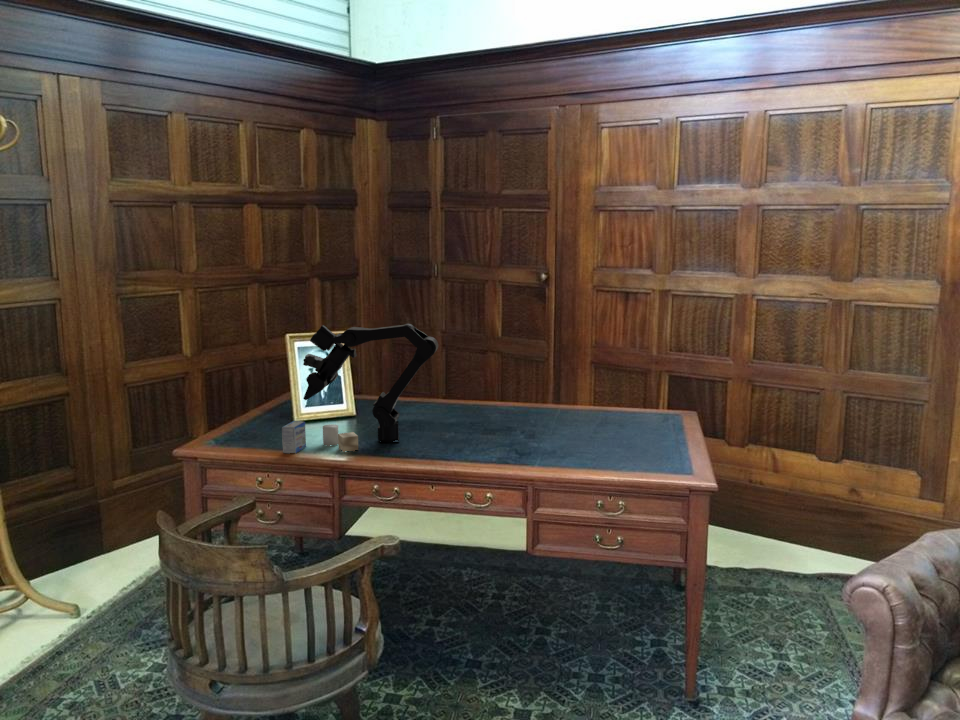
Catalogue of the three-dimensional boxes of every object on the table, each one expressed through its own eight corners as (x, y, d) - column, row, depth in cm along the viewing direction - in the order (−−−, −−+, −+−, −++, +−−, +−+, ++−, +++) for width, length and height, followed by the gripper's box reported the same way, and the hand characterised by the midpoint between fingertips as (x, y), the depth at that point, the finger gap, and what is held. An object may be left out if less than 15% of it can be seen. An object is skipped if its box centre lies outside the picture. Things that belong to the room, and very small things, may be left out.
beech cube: (353, 446, 258) (353, 432, 257) (358, 450, 253) (358, 435, 253) (338, 448, 256) (338, 433, 255) (343, 452, 251) (342, 437, 250)
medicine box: (295, 454, 249) (294, 427, 248) (282, 453, 250) (281, 426, 249) (306, 447, 257) (305, 421, 255) (293, 446, 258) (292, 420, 256)
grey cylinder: (339, 441, 263) (338, 424, 262) (338, 445, 259) (337, 428, 257) (323, 442, 263) (323, 424, 262) (322, 446, 258) (322, 428, 257)
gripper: (323, 340, 270) (297, 376, 273) (307, 349, 252) (280, 387, 255) (349, 360, 270) (323, 395, 273) (335, 370, 252) (308, 408, 255)
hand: (308, 396), depth 264 cm, fingers open, 9 cm apart
